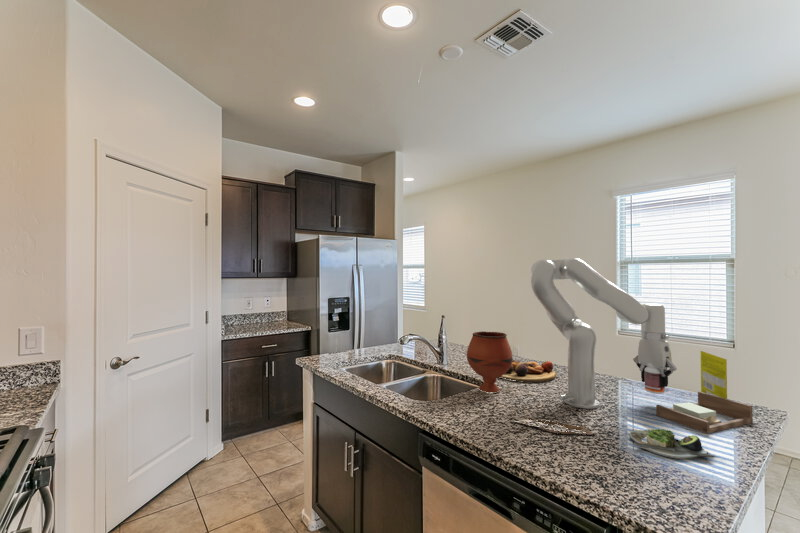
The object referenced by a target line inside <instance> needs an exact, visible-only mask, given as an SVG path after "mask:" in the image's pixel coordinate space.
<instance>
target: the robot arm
mask: <svg viewBox="0 0 800 533" xmlns="http://www.w3.org/2000/svg"><path fill="white" fill-rule="evenodd" d="M530 270H531V272H530V273H531V278H530V286H531V290H532V292H533V294H534V296H535V297H536V299H537V300H538V301H539V303H540V304H541V305H542V307H544V309H545V311H546V315H547V316H548V318H549V320H550V321H551V322H552V324H554V326H555V327H556V328H557V329H558V331H560V333H561V334H562V336H564V337H565V339H566V340H567V341H568V348H567V387H568V388H567V390H566V391H565V394H559V395H558V398H559V399H558V400H560V401H563V402H564V403H566V404H567V405H569V406H572V407H575V408H579V409H586V410H587V409H590V410H592V409H593V410H594V409H598V408H600V404H601V402H600V401H599V400H597V399H596V358H595V357H596V348H597V334H596V332H595V330H594V329H593V328H592V326H591V325H589V324H587V323H586V322H583V320H581V318H580V317H579V316H578V314H576V310H575V308H574V306H573V305H572V304H571V303H570V302H569V301H568V300H567V299H566V298H565V297H564V295H563V294H562V293H561V292H560V290H559V289H558V288H557V286H556V285H555V283H554V282H555V280H571V281H572V282H573V283H574V284H576V285H577V286H579V288H581V290H583V291H585V292H586V293H587V294H588V295H589V296H590V297H592V298H594V299H595V300H597V301H600V302H602V303H603V304H606V306H609V307H610V308H612V309H614V311H615V313H616V316H617V318H618V319H620V320H621V321H623V322H625V323H629V324H632V325H640V332H641V333H640V334H641V335H640V336H641V338H639V342H638V347H637V348H638V350H637V355H636V356H635V357H634V358H633V359H632V360H633V362H634V363H635V364H636V367H638V370H639V371H640V374H641V375H640V377H641V382H643V383H645V373H644V369H645V368H646V367H647V365H648V363H651V364H652V366H653V367H656V368H659V370H660V373H661V375H662V376H660V386H661V387H665V388H666V387H668V385H669V376H671V375H672V374H674V373H673V372H675V371H677V369H678V368H677V367H676V365H675V364H674V363H673V360H672V352H671V347H670V344H669V341H668V339H669V335H667V334H666V308H665V306H664V305H663V304H660V303H641V302H639V301H638V300H637V299H636V298H634V297H633V296H632V295H631V294H629V293H627V292H626V291H625V290H623V289H621V288H620V287H618V286H617V285H616V284H614V283H613V282H611V281H610V280H608V279H607V278H605V277H604V276H603V275H602V274H600V273H599V272H598V271H596V270H595V269H594V268H593V267H591V265H589V264H587V263H586V262H585V261H584V260H582V259H581V258H577V257H573V258H564V259H545V258H544V259H543V258H542V259H539V260H536V261H535V262H534V263H532V265H531V268H530Z"/></svg>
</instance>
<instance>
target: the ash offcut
mask: <svg viewBox="0 0 800 533" xmlns="http://www.w3.org/2000/svg"><path fill="white" fill-rule="evenodd" d="M671 408H672V409H673V407H671ZM673 410H676V409H673ZM676 411H679V410H676ZM679 412H681V411H679ZM682 413H684V412H682ZM685 414H687V413H685ZM688 415H689V414H688ZM691 416H692V415H691ZM694 417H695V416H694ZM697 418H698V417H697ZM700 419H703V420H706V421H709V422H710V421H712V420H714V419H717V415H716V416H712V417H704V418H700Z"/></svg>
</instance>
